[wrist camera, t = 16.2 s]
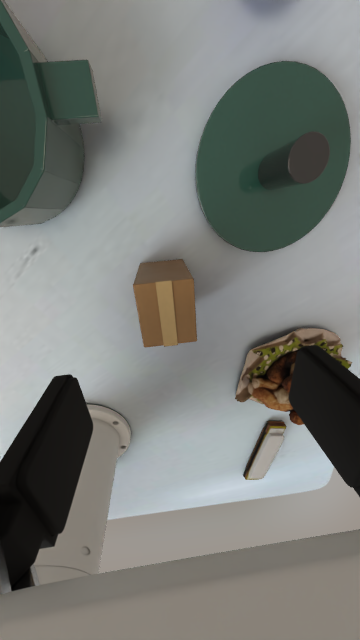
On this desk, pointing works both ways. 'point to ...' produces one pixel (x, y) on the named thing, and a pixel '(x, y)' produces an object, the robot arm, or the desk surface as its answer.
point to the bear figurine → (282, 368)
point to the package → (165, 303)
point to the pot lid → (273, 156)
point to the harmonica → (265, 450)
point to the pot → (40, 126)
